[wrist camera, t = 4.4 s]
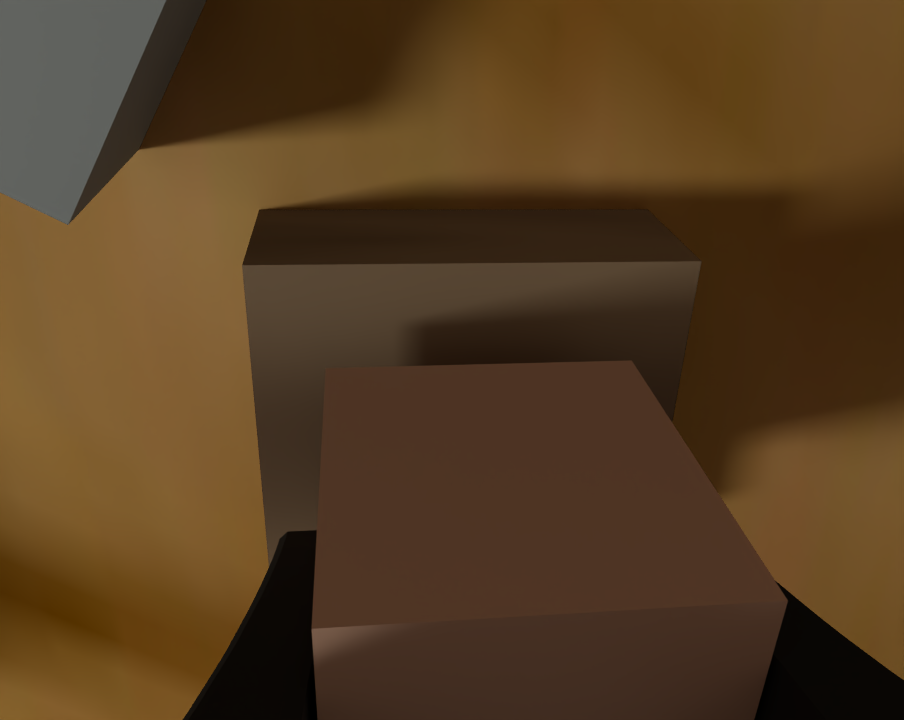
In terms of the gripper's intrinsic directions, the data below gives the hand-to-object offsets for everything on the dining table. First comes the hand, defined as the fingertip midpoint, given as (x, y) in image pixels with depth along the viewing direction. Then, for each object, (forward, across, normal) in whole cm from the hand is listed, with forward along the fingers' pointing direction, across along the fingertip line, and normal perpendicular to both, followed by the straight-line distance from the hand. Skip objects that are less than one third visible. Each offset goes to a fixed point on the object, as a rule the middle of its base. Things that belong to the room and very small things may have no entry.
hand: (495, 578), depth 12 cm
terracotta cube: (+2, 0, 0) cm, 2 cm away
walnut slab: (+6, 0, 0) cm, 6 cm away
